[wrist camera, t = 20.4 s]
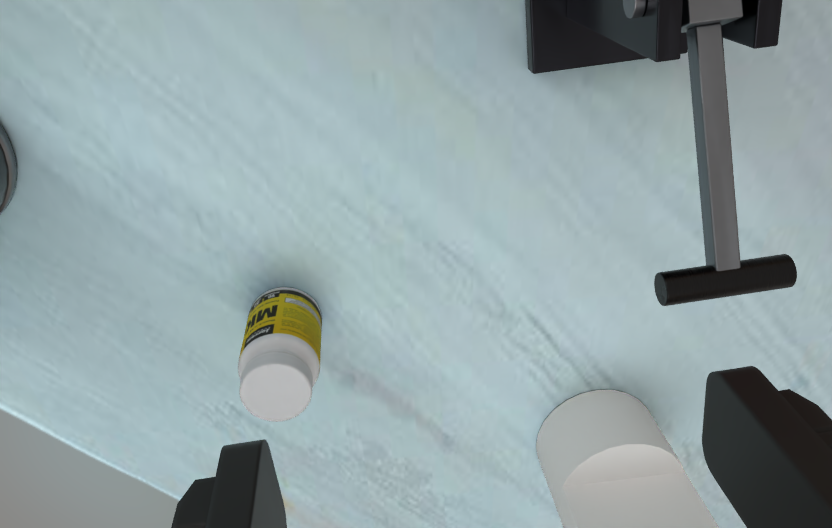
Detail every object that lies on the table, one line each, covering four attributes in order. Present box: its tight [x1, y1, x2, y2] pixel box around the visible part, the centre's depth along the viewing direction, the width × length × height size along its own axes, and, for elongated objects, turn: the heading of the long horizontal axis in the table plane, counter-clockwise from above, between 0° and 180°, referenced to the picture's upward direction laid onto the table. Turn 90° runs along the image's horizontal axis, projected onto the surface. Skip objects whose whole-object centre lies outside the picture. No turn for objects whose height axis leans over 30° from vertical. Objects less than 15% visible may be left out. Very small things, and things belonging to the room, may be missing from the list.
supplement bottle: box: [238, 287, 322, 421], centre depth 44 cm, size 5×5×8 cm
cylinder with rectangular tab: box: [536, 390, 719, 528], centre depth 50 cm, size 9×9×12 cm
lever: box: [654, 0, 797, 306], centre depth 31 cm, size 14×6×2 cm, turn 6°
